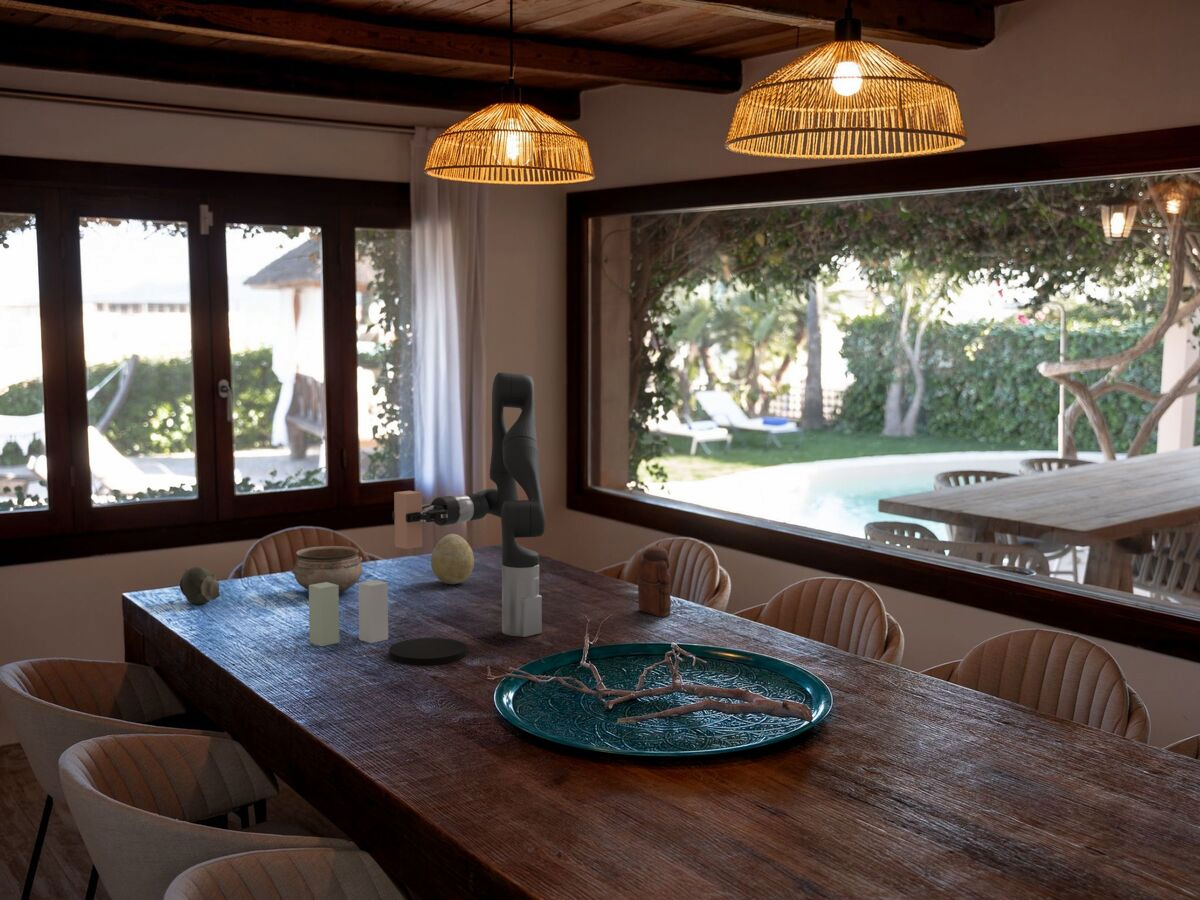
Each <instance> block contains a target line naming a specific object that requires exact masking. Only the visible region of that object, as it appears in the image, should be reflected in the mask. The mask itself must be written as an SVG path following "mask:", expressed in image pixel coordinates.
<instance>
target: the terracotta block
mask: <svg viewBox="0 0 1200 900" xmlns="http://www.w3.org/2000/svg"><path fill="white" fill-rule="evenodd" d="M393 495H394V496H393V500H394V502H393V503H394V504H393V505H394V507H393V508H394V510H393V511H394V512H395V520H394V547H396V548H398V549H403V550H411V549H416V548H423V543H424V542H423V540H424V539H423V535H424V534H423V522H421V521H416V522H406V514H407V513H415V512H420V511H422V506H423V492H422V491H421V492H420V491H415V490H414V491H413V490H404V491H395V492H393Z"/></svg>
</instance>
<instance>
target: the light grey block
mask: <svg viewBox="0 0 1200 900" xmlns="http://www.w3.org/2000/svg"><path fill="white" fill-rule="evenodd" d="M358 640H360V641H363V642H367V643H369V644H374V643H378V642H383V641H387V640H389V582H385V581H382V580H378V579H371V580H366V581H362V582H361V581H360V582H358Z"/></svg>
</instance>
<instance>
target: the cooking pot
mask: <svg viewBox="0 0 1200 900" xmlns="http://www.w3.org/2000/svg"><path fill="white" fill-rule="evenodd" d="M359 552H360V550H359V549H358V548H356V547H351V546H345V545H341V546H339V545H327V546H321V545H320V546H314V547H313V546H312V547H307V548H302V549H299V550H297V551H296V552H295V554H296V555H297V559H296V561H295V564H294V568H293V569H292V570H291V573H292V574H293V575H294V578H295V580H296V582H297V583H298V585H299V586H300V587H302V588H303V589H305V590H308V591H309V585H312V584H318V583H324V582H328V583H332V584H336V585H339V595H341V594H342V593H344V592H345V591H346V590H349V589H350V588H351V587H353V586H355V584H357V583H358V582H359V580H360V578H361V577H362V574H363V566H362V561H363V558H362V557H361V556H359V555H358V554H359Z"/></svg>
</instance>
